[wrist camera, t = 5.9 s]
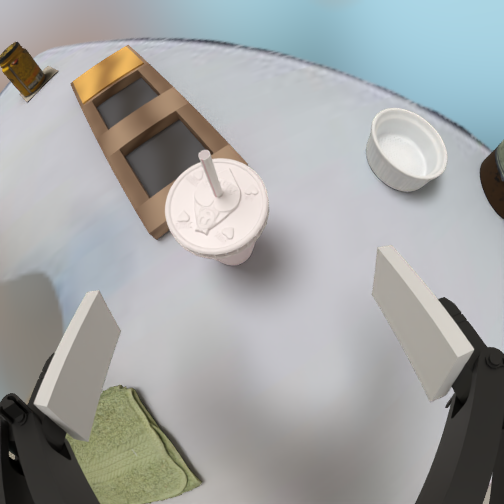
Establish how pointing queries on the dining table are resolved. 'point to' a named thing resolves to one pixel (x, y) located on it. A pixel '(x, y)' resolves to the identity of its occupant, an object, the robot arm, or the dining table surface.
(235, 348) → the dining table surface
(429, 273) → the dining table surface
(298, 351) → the dining table surface
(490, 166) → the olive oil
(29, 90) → the condiment
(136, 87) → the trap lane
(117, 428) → the washcloth
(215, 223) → the smoothie
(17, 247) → the dining table surface
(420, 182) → the ramekin
